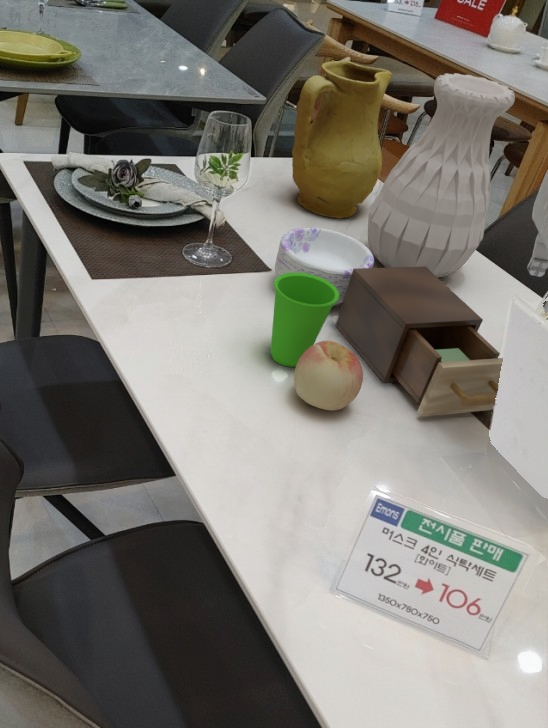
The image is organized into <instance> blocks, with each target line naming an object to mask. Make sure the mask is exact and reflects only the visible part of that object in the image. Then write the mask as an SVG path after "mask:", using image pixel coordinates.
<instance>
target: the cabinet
mask: <svg viewBox="0 0 548 728" xmlns="http://www.w3.org/2000/svg"><path fill="white" fill-rule="evenodd" d="M483 321H484V319H483V318H482V317H481V316H480V315H479V314H477V312H476V311H475V310H473V309H472V308H471V307H470V306H469V305H468V304H467V303H465V301H464V300H462V298H460V297H459V296H458V295H457V294H456V293H455V292H454V291H453V290H451V289H450V287H448V286H447V285H446V284H445V283H444V282H443V281H442V280H441V279H439V277H438V278H437V277H436V276H435V275H434V274H433V273H432V272H431V271H430V270H429V269H428V268H426V267H393V268H385V267H372V268H357V269H353V272H352V275H351V278H350V281H349V284H348V288H347V291H346V294H345V297H344V300H343V302H342V303H341V307H340V309H339V313H338V316H337V319H336V323H335V327H336V328H337V329H338V331H339V332H340V333H341V334H342V335H343V337H344V338H345V339H346V340H347V341H348V342H349V344H350V345H351V346H352V347H353V349H354V350H355V351H356V352H357V353H358V355H359V356H360V357H361V358H362V359H363V360H364V362H365V363H366V364H367V366H368V367H369V368H370V369H371V370H372V371H373V372H374V373H375V375H376V376H377V378H378V379H379V380H380V381H381V382H382V383H383V384H384V383H400V382H399V381H398V380H397V379H396V377H395V376H394V375H393V374H392V373H391V372H392V370H393V367H394V365H395V362H396V360H397V357H398V355H399V352H400V349H401V347H402V344H403V342H404V339H405V337H406V334H407V332H408V328H426V327H444V326H462V325H471V326H472V327H473V328H474V329H475V330H476V331H477V332H478V333H479V330H480V327H481V325H482V323H483Z"/></svg>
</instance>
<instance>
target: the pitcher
mask: <svg viewBox="0 0 548 728" xmlns="http://www.w3.org/2000/svg"><path fill="white" fill-rule="evenodd" d="M320 69H321V73H322V74H323V76H324V77H323V76H321V75H312V76H311V77H309V78H308V79H307V80H306V81H305V83H304V85H303V87H302V88H301V91H300V94H299V100H298V101H299V102H298V106H297V109H296V118H295V126H294V131H293V135H294V140H293V147H292V151H291V155H292V159H291V160H292V161H291V163H292V164H291V167H292V176H291V177H292V179H293V182H294V184H295V185H296V187H297V188H298V190H299V192H298V194H297V198H296V201H297V204H298V205H299V206H302V207H303V208H304V210H306V211H309V212H311V213H313V214H316V215H319V216H323V217H327V218H331V219H332V218H333V219H334V218H336V219H339V220H340V219H344V218H350V217H353V216H354V215H356V213H357V212H358V211H357V210H358V208H357V206H356V205H357V204H362V203H364V201H366V199H367V198H368V197H369V196H370V195H371V193H373V191H374V188H375V186H376V184H377V182H378V180H379V178H380V176H381V171H382V166H383V156H382V155H383V154H382V148H381V144H380V138H379V131H378V130H379V115H380V111H381V106H382V104H383V103H382V102H383V100H384V96H385V93H386V90H387V88H388V86H389V83H390V81H391V78H392V77H393V72H391V71H390V70H387V69H384V68H379V67H372V66H368V65H361V64H358V63H355V62H353V61H350V60H344V61H340V60H337V61H326V62H323V63H322V65H321V66H320ZM319 95H321V99H320V103H319V105H318V109H317V112H316V114H315V117H314V119H313V121H312V115H313V111H314V107H315V104H316V100H317V98H318V97H319ZM311 122H312V123H311Z"/></svg>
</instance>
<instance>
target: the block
mask: <svg viewBox="0 0 548 728" xmlns="http://www.w3.org/2000/svg"><path fill="white" fill-rule="evenodd" d="M436 352H437V353H438V354H439V355H440V356H441V357H442V359H441V361H440V362H453V361H467V360H470V359H469V358H468V357H467V356H466V355H465V354H464V353H463V352H462V351H461V350H460V349H459V348H455V349H439V350H436Z"/></svg>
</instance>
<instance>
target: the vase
mask: <svg viewBox="0 0 548 728" xmlns="http://www.w3.org/2000/svg"><path fill="white" fill-rule="evenodd" d="M433 94H434V97H435V100H436V105H437V106H436V109H435V112H434V115H433V116H432V118H431V120H430V121H429V123H428V125H427V126H426V128H425V129H424V130H423V132H422V133H421V134H420V136H419V137H418V138H417V139H416V141H415V142H414V143H413V144H412V145H410V146H409V148H408V149H406V151H405V152H404V153H403V154H402V156H401V157H400V159H399V160H398V162H397V163H396V164H395V165H394V167H393V168H392V169H391V170H390V172H389V174H388V175H387V177H386V178H385V180H384V181H383V185H382V186H381V188H380V190H379V193H378V194H377V196H376V197H375V199H374V200H373V202H372V203H371V205H370V207H369V208H368V212H367V213H368V214H367V215H368V217H367V218H368V219H367V240H368V241H367V242H368V245H369V250H370V251H371V253H372V255H373V257H374V258H376V259H377V261H379V262H380V264H381V265H382V266H383V268H393V267H426V268H428V269H429V270H430V271H431V272H432V273H433V274H434V275H435V276H436V277H437V278H438V279H439V278H443V277H446V276H449V275H451V274H454V273H456V272H458V271H459V270H460V269H461V268H462V267H463V266H464V265H465V264H466V263H467V262H468V260H469V259H470V258H471V257H472V255H473V254H474V252H475V251H476V250H477V249H478V247H479V246H480V243H481V242H482V241H483V240H484V239H483V238H484V234H485V227H486V226H485V225H486V217H487V214H488V212H489V208H490V202H491V196H492V195H491V194H492V191H491V179H492V175H491V166H490V146H491V145H490V144H491V138H492V137H491V135H492V130H493V127H494V124H495V122H496V120H497V118H499V117H500V116H501V115H502V114H504V113H505V112H507V111H508V110H510V108H512V106H513V105H514V103H515V100H516V96H515V95H516V94H515V91H514V90H512V89H509V86H506V85H504V84H501V83H499V82H498V81H495V80H489V79H487V78H486V77H482V76H481V77H479V76H474V75H472V74H468V73H467V74H461V73H456V72H454V73H443V75H442V74H440V75H438V76H437V77H436V78H435V80H434V85H433Z"/></svg>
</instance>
